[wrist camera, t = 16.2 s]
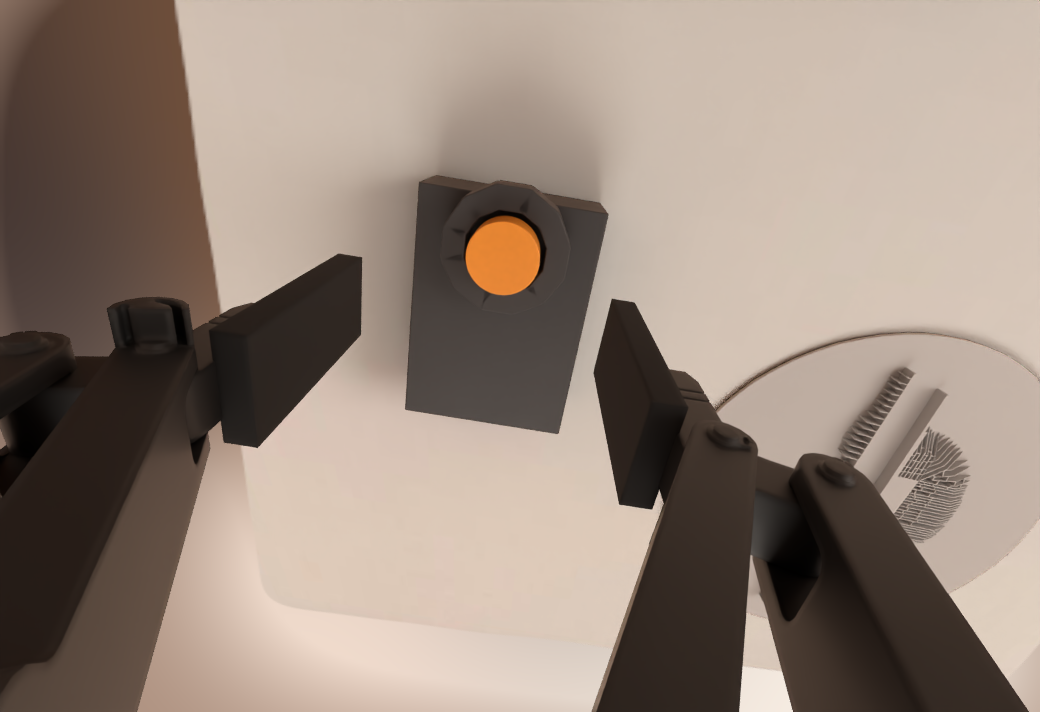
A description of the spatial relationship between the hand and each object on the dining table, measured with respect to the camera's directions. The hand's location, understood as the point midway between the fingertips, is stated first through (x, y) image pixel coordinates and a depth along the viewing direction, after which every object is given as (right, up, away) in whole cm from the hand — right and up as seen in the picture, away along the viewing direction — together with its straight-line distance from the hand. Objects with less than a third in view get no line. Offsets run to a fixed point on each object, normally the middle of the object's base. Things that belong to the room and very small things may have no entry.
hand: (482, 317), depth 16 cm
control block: (0, +2, +16) cm, 16 cm away
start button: (0, +4, +9) cm, 10 cm away
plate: (+27, -12, +21) cm, 37 cm away
